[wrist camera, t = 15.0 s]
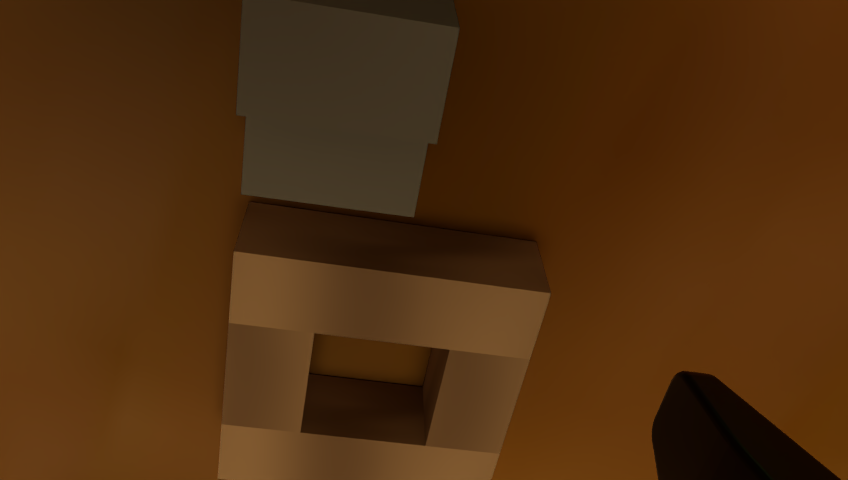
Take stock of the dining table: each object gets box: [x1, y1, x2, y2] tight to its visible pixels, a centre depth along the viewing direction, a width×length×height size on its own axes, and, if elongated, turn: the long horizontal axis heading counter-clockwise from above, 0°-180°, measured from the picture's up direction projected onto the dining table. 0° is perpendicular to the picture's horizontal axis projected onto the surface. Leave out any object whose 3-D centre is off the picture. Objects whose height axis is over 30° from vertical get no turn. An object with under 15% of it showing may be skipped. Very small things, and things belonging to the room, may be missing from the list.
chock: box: [236, 0, 460, 217], centre depth 18 cm, size 5×4×4 cm
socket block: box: [218, 202, 551, 480], centre depth 23 cm, size 8×8×2 cm
